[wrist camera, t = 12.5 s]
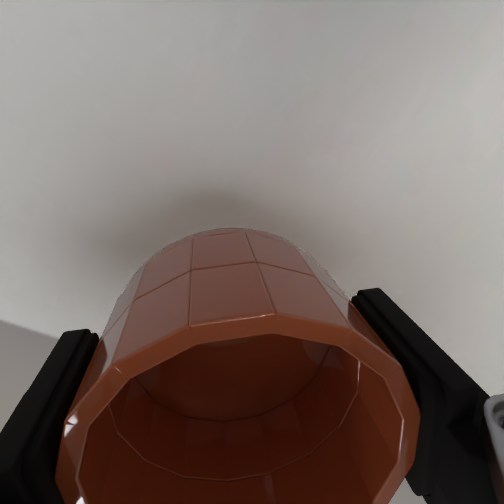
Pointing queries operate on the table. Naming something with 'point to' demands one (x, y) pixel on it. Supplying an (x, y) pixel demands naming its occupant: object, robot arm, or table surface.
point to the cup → (237, 386)
